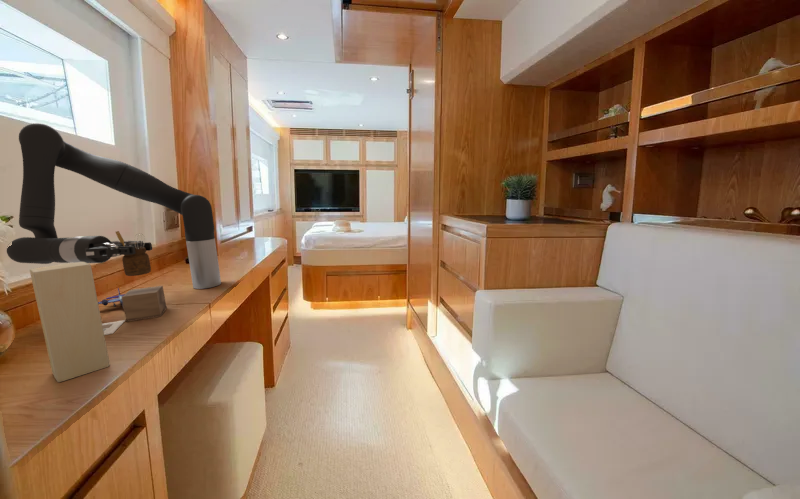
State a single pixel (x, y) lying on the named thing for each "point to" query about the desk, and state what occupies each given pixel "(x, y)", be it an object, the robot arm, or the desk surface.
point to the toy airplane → (112, 300)
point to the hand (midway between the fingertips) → (142, 248)
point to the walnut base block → (144, 303)
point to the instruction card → (111, 327)
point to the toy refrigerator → (70, 319)
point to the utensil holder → (135, 260)
